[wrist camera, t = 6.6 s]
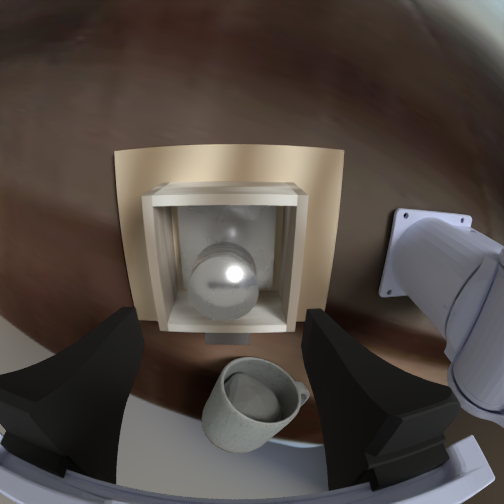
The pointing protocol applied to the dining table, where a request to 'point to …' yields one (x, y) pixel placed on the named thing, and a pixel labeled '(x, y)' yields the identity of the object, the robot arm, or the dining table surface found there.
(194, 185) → the base
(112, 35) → the dining table surface
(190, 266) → the plunger
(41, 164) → the dining table surface
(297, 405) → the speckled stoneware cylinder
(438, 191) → the dining table surface
